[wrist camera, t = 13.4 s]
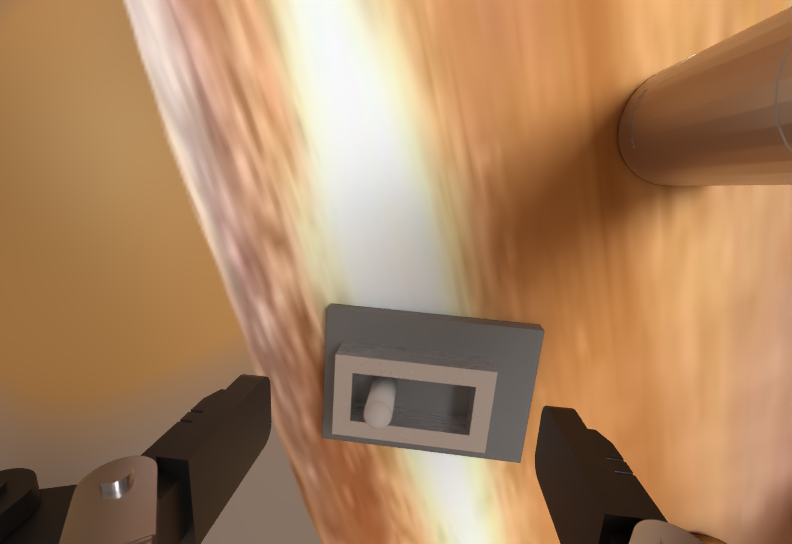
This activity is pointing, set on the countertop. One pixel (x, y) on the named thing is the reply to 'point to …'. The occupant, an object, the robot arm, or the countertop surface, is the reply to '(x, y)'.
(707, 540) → the bread roll
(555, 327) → the countertop surface
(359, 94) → the countertop surface
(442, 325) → the board
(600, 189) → the countertop surface
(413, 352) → the steel link
